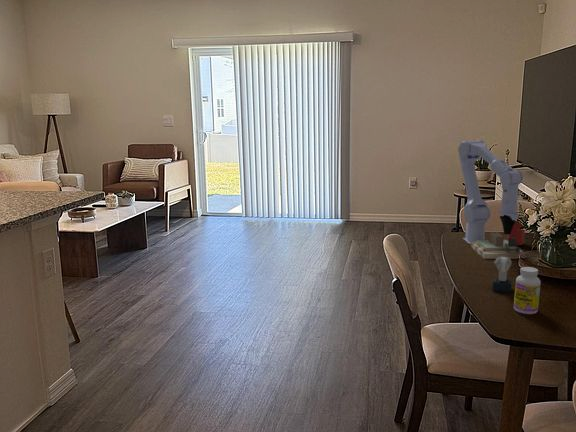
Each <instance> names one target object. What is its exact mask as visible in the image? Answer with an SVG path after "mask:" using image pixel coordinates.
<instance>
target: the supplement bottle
mask: <svg viewBox="0 0 576 432" xmlns="http://www.w3.org/2000/svg"><path fill="white" fill-rule="evenodd" d="M519 273H520V275H518V276H517V277H516V278H515V286H514V287H515V288H514V297H513V309H514V311H516V312H517V313H520V314H524V315H534V314H537V313H538V310H539V305H540V304H539V303H540V302H539V301H540V292H541V283H542V282H541V280H540V278H539V277H538V275H539V269H538V268H536V267H532V266H523V267H520V272H519Z"/></svg>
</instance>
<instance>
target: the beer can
mask: <svg viewBox="0 0 576 432" xmlns="http://www.w3.org/2000/svg"><path fill="white" fill-rule="evenodd" d="M517 215H518V214H517ZM518 217H519V215H518ZM521 226H522V224H521V223H519V222H515V224H514V226H513V228H512V231H511V234H507V237H506V238H507V239H506V240H508V241H509V238H516V246H522V245H524V243H525V233H526V229H525V230H518V229H519V228H520V227H521Z"/></svg>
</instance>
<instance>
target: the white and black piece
mask: <svg viewBox="0 0 576 432" xmlns="http://www.w3.org/2000/svg"><path fill="white" fill-rule="evenodd" d="M493 264H494V265H495V266H496V268H497V270H498V276H497V277H493V279H492V280H493V281H492V290H491V291H492V292H499V293H509V294H511V293H512V279H510V278H508V271H509V270H510V268H511V266H512V260H511V259H509V258H507V257H499V258H497V259H495V260H494V261H493Z"/></svg>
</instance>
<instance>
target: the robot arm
mask: <svg viewBox="0 0 576 432" xmlns="http://www.w3.org/2000/svg"><path fill="white" fill-rule="evenodd" d="M457 152H458V156H459V160H460V167H461V171H462V172H461V173H462V176H463V181H464V186H465V191H466V197H467V202H466V204H465V205H464V206H463V207H464V212H463V213H464V214H463V215H464V216H463V217H464V220H465V221H466V225H465V237H463V238H462V239H463V240H464V241H465V242H466V243H467V244H469V245H471V242H473V241H474V240H485V239H486V238H485V234H486V223H487V222H488V220H489V219H490V217H491V210H490V207H488V203H487V201H486V200H483V198H482V196H481V191H480V187H479V181H478V176H477V172H476V167H475V163H476V161H478V160H479V159H480V158H481V159H483V161H485V162H486V163H488V164H489V165H490V170H491V171H492V172H493V173H494V174H495V175H496V176H497V177H499V182H500V184H501V189H502V195H501V207H500V209H499V211H497V213H498V214H499V218H500V221H501V224H502V229H503V230H502V231H503V234H504V235H508V234H511V231H512V228H513V226H514V224H515V222H514V221H515V220H517V218H518V212H517V211H518V198H519V185H521V183H522V182H523V174H522V172H521V171H520V170H519V169H514V168H513V167H512V166H510V165H509V164H508V163H507V162H506V160H505V159H503V158H497V157H496V155H495V154H493V153H492V152H491V150H490V149H489V148H488V144H487V143H485V142H484V140H481V139H477V140H463V141H461V142H460V144H459V146H458V148H457ZM500 214H501V215H500Z"/></svg>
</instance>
